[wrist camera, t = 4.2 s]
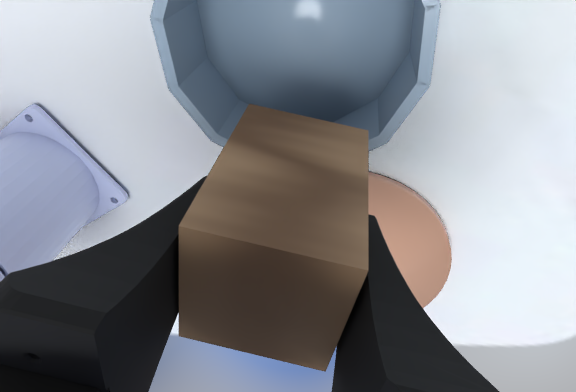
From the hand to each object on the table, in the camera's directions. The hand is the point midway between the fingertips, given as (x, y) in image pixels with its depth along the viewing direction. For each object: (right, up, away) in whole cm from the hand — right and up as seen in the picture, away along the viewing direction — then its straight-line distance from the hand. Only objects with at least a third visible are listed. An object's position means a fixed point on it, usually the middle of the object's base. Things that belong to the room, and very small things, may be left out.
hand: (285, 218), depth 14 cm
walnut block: (0, +2, +2) cm, 3 cm away
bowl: (+1, +9, +6) cm, 11 cm away
